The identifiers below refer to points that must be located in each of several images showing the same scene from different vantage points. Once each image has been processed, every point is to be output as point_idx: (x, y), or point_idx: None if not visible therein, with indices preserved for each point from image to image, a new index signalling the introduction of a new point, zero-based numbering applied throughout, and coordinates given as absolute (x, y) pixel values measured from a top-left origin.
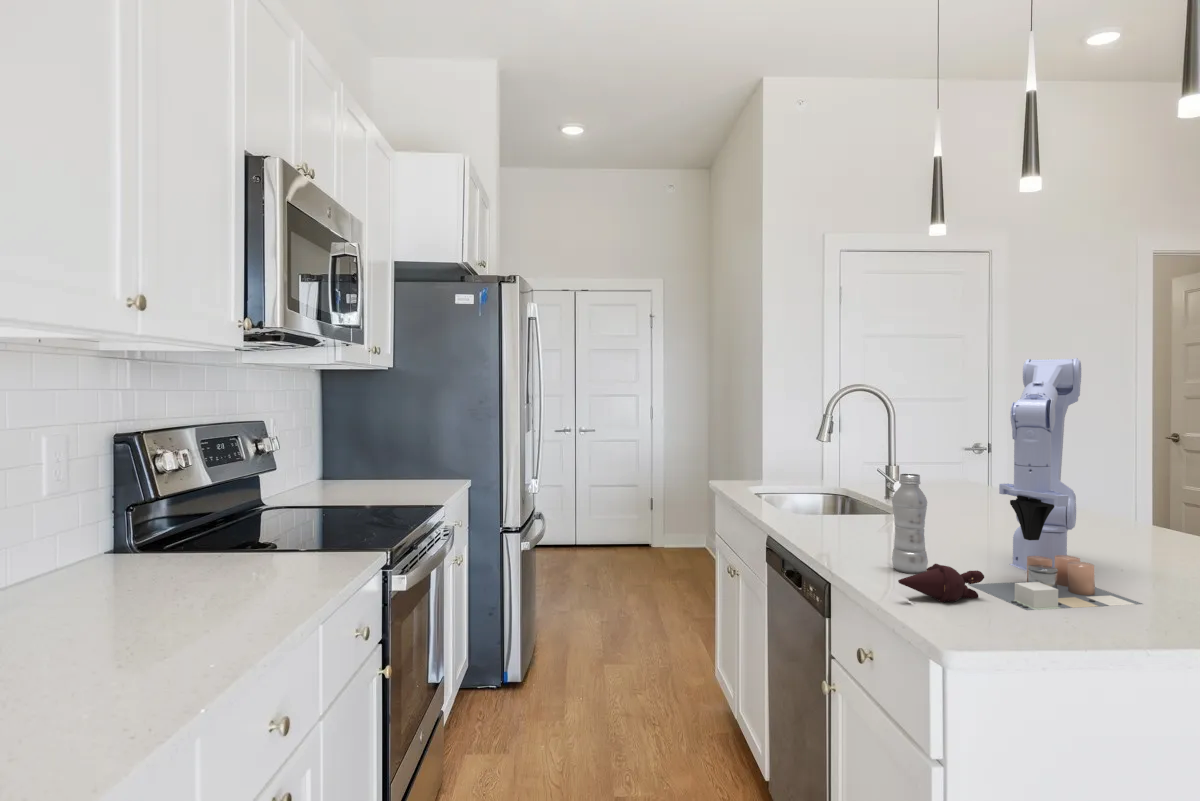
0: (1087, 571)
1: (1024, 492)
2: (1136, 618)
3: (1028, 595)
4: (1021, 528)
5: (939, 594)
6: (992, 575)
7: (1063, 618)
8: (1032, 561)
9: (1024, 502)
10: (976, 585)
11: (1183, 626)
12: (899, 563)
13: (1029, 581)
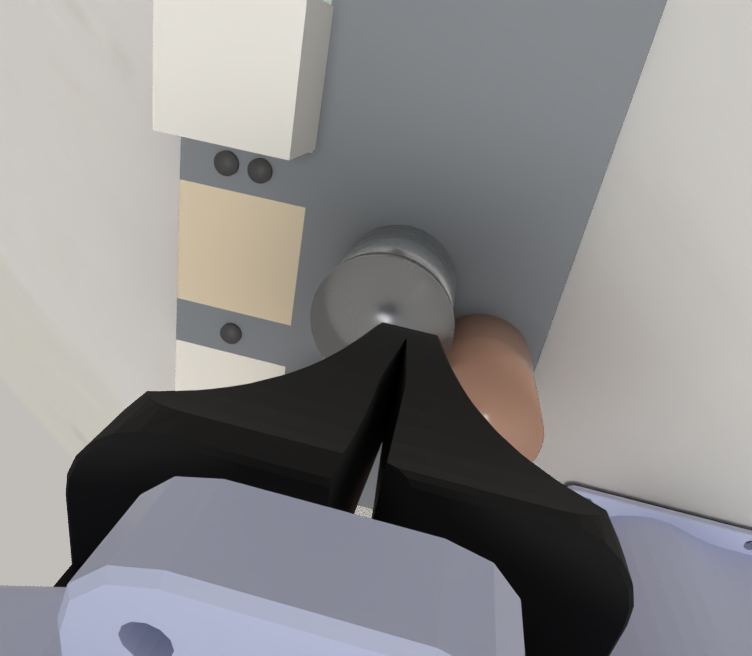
0: None
1: (29, 654)
2: (86, 317)
3: None
4: (442, 360)
5: None
6: (737, 351)
7: (114, 41)
8: (476, 371)
9: (170, 443)
10: (623, 37)
11: (8, 367)
12: None
13: (423, 245)
